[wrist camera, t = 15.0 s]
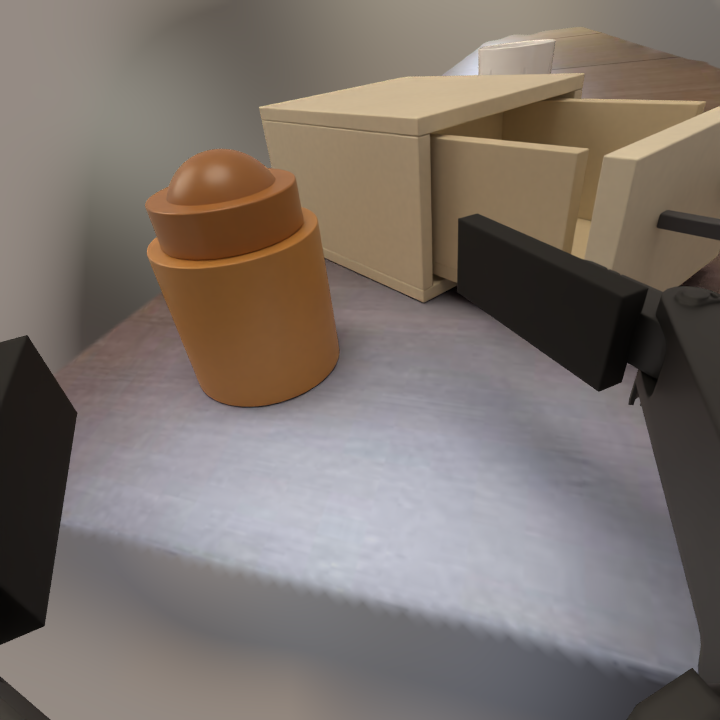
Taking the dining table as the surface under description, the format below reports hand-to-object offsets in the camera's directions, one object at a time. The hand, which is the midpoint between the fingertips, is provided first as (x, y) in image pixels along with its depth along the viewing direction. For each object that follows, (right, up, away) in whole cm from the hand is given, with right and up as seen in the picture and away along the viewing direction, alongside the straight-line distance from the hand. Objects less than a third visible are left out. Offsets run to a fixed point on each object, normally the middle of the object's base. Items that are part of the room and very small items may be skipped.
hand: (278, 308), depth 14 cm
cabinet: (+7, +8, +20) cm, 23 cm away
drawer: (+15, +3, +11) cm, 19 cm away
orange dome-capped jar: (-2, -2, +9) cm, 10 cm away
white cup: (+20, +24, +41) cm, 52 cm away
